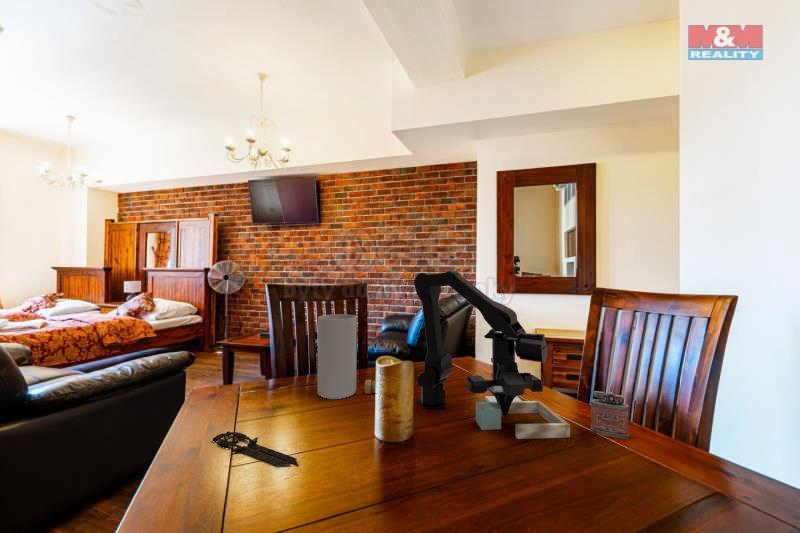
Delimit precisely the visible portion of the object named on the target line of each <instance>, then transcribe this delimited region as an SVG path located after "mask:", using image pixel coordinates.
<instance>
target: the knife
mask: <svg viewBox="0 0 800 533" xmlns="http://www.w3.org/2000/svg"><path fill="white" fill-rule="evenodd" d="M229 435H230V436H229ZM223 437H224V438H223ZM227 437H228V438H227ZM221 438H222V439H221ZM233 438H234V439H233ZM242 438H243V439H242ZM224 439H225V440H224ZM231 439H233V440H232V441H230V440H231ZM244 439H246V440H247V441H248V443H247V446H246V445H243V446H241V445H239V443H240V440H244ZM246 440H245V441H246ZM213 441H214V442H215V443H217V446H218V445H219V446H218V447H220V446H221V447H220V448H223V447H224V448H223V449H225V448H229V446H230V447H233V449H232V450H231V455H232V456H233V455H235V454H242V453H244V454H247V455H250V456H252V457H255V458H258V459H261V460H262V461H265V462H268V463H270V464H273V465H276V466H279V467H280V466H291V465H296V466H300V465H299V462H298V459H297V458H296V457H294V456H291V455H289V454H285V453H284V452H281V451H278V450H274V449H271V448H268V447H266V446H263V445H260V444H258V442H259V437H254V438H253V439H252V438H251V437H249V436H248V435H247V434H245V433H243V432H242V433H241V432H239V431H237V432H236V431H232V432H231V431H226V432H224V433H220V434H219V433H218V434H217V435H216V436H214V437H212V442H213ZM216 441H217V442H216ZM238 441H239V442H238ZM214 442H213V443H214ZM229 449H230V448H229Z"/></svg>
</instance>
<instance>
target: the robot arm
mask: <svg viewBox="0 0 800 533" xmlns="http://www.w3.org/2000/svg"><path fill="white" fill-rule="evenodd" d="M413 285H414V289H415V293H416V295H417V297H418V299H419V300H420V302H421V306H422V314H423V323H424V330H425V338H426V348H427V351H426V354H425V355H426V356H425V358H424V365H423V372H422V373H421V374H420V375H419V376H418V377H416V383H417V385H418V387H420V388H421V389H420V391H421V398H420V403H421V407H422V409H445V408H446V405H445V404H446V389H445V387H444V384H443V383H445V382H446V381H447V378H448V377H450V375H451V374H452V370H453V369H454V364H453V360H452V359H453V358H452V356H453V355H452V354H451V353H448V354H447V352H446V350H445V348H444V342H443V341H444V340H443V334H442V333H443V332H442V325H441V317H440V315H441V314H440V308H439V300H440V299H439V298H440V295H441V290H442V287H448V286H449V287H450V288H452V289H453V290H454V291H455V292H456V293H458V294H459V295H460V296H461V297H462V298H463V299H465V300H466V301H467V302H468V303H469V304H471V305H472V306H473V307H474V308H476V309H477V310H478V311H479V313H480V314H481V316H482V317H483V319H484V320H485V322H486V323H487V324H488V325H489V326H490V328H491V329H489V331H488V332H487V333H486V334H485V335H484V336H483V337H484V338H485V339H489V340H490V339H491V341H492V342H491V344H492V345H491V346H492V349H491V350H492V352H491V353H492V354H491V355H492V356H491V357H490V363H492V371H491V373H490V377H491V378H492V379H484V377H483V376H482V375H469V376H468V375H467V378H466V380H465V384H466V385H465V386H466V388H467V389H468V390H469V391H470V392H471V394H485V393H486V392H487V391H489V392H490V393H491V394H492V396H495V398H496V401H497V403H498V406H499V408H500V409H501V417H503V418H507V417H508V411H509V409H510V406H511V403H512V401H513V400H514V398H515V397H516V396H517V397H519V396H523V395H524V394H525V390H526V389H527V390H528V389H529V390H530V391H531V393H541V392H542V393H543V392H544V383H543V380H541V379H540V378H538V377H537V376H536V375H534V374H532V373H531V372H520V371H519V369H518V362H517V361H516V357H517V358H519V359H520V360H523V361H529V362H537V363H542V364H545V363H546V361H547V358H548V345H547V340H546V339H545V337H546V336H545V334H544V333H528V332H527V331H526V330H525V329H524V327H523V326H522V324H521V323H520V322H519V320H518V315H517V313H516V312H515V310H513V309H512V308H510V307H508V306H506V305H505V304H502V303H501V302H498V301H495V300H493V299H492V298H490V297H489V296H487V295H486V294H485V293H484V292H483V291H481V290H480V289H478V287H477V286H475V285H474V284H472V282H470V281H469V280H467V279H466V278H465V277H464V276H463V275H462V274H460V272H459V271H455V270H448V271H445V272H440V273H435V272H420V273H418V274H416V276H415V278H414V279H413Z"/></svg>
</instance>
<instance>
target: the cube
mask: <svg viewBox="0 0 800 533" xmlns="http://www.w3.org/2000/svg"><path fill="white" fill-rule="evenodd" d="M475 422H476V424H477V425H478V427H479V428H480V429H481V431H483V430H484V431H487V430H490V431H491V430H501V429H502V414H501V409H500V408H499V407H498V405H497V404H496V403H495V402H486V401H476V402H475Z"/></svg>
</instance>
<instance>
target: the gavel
mask: <svg viewBox="0 0 800 533" xmlns="http://www.w3.org/2000/svg"><path fill="white" fill-rule="evenodd" d="M375 381H376V380H372V379H365V381H364V394H365V395H372V394H376V393H375Z"/></svg>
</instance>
